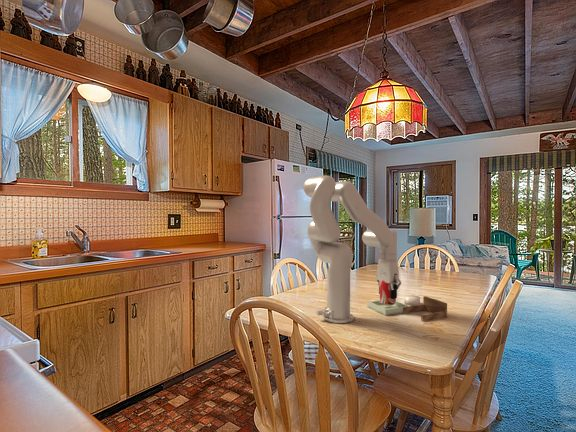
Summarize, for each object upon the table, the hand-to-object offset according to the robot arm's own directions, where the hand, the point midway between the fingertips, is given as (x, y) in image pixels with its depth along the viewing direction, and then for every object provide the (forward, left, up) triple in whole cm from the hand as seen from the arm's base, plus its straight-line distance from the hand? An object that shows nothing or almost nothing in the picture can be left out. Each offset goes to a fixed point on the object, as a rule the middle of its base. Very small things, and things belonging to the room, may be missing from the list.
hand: (387, 295), depth 149 cm
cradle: (+9, -12, -6) cm, 16 cm away
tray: (0, 0, -6) cm, 6 cm away
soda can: (0, 0, -4) cm, 4 cm away
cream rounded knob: (+17, +3, -6) cm, 19 cm away
